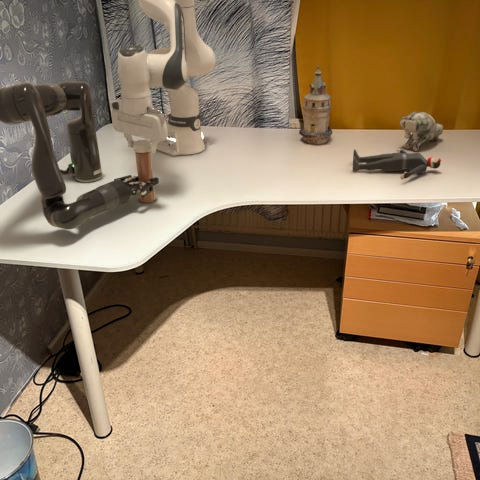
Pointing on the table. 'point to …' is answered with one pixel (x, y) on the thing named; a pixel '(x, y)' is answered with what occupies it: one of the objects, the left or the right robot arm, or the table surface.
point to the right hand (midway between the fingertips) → (142, 149)
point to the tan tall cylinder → (145, 173)
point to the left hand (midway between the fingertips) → (152, 178)
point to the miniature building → (316, 112)
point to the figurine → (420, 129)
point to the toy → (396, 162)
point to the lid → (141, 146)
